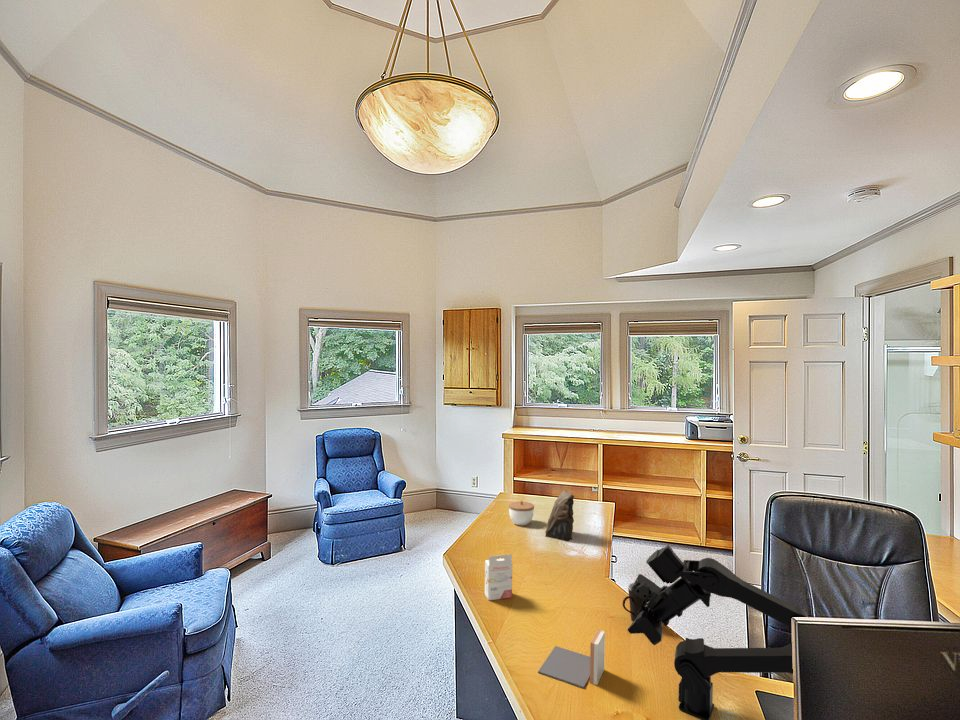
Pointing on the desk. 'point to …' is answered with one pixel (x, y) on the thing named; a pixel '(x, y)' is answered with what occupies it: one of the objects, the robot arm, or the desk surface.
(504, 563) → the ink cartridge box
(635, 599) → the coffee mug
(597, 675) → the tile
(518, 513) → the lidded bowl
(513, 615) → the desk surface
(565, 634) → the desk surface
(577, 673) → the gray pad
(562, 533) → the brown rock
